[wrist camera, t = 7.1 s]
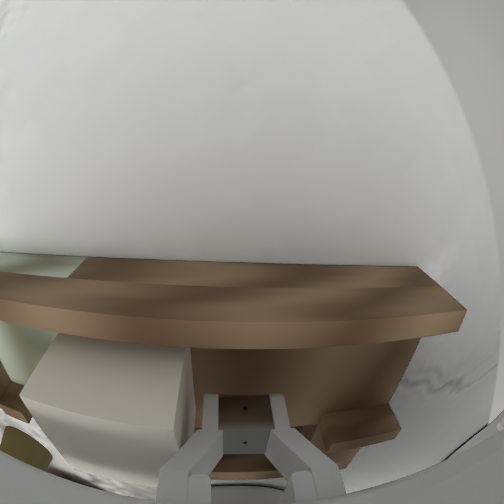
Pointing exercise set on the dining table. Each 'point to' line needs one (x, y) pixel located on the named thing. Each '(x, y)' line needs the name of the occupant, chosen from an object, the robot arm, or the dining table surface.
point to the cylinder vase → (246, 495)
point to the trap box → (238, 334)
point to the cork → (25, 448)
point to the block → (113, 405)
